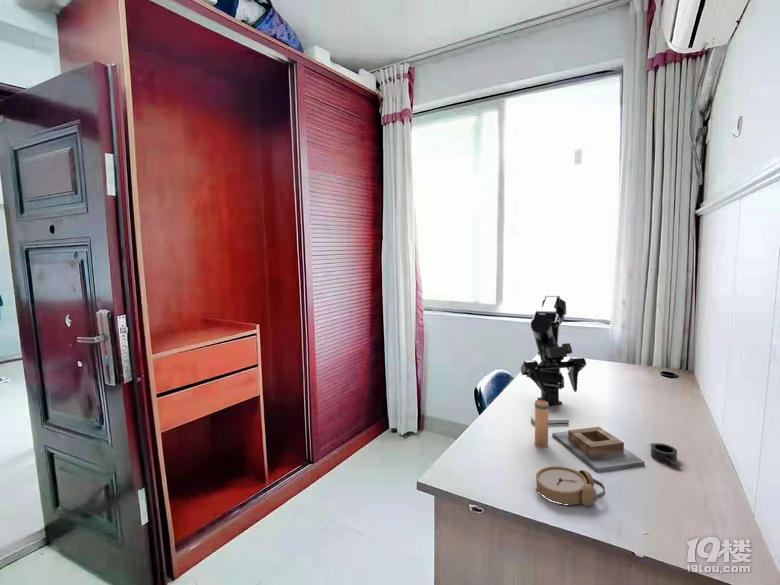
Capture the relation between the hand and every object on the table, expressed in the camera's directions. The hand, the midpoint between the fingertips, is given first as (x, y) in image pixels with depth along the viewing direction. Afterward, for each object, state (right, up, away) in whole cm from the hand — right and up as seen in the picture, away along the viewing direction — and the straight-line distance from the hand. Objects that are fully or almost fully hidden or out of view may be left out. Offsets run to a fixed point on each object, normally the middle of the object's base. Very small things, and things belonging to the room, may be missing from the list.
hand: (560, 392), depth 118 cm
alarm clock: (-9, -18, -25) cm, 32 cm away
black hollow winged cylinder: (+23, -15, -12) cm, 30 cm away
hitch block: (+7, -15, -6) cm, 17 cm away
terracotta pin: (-7, -15, -3) cm, 16 cm away
